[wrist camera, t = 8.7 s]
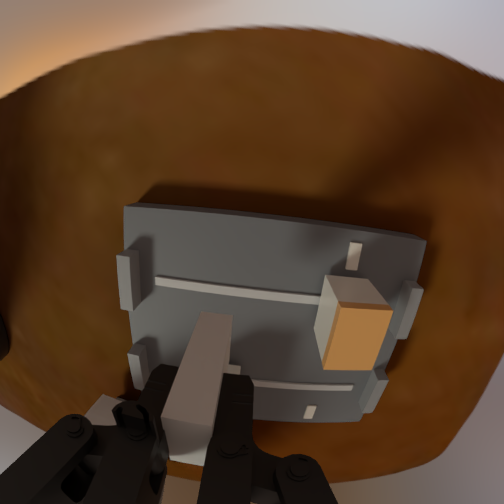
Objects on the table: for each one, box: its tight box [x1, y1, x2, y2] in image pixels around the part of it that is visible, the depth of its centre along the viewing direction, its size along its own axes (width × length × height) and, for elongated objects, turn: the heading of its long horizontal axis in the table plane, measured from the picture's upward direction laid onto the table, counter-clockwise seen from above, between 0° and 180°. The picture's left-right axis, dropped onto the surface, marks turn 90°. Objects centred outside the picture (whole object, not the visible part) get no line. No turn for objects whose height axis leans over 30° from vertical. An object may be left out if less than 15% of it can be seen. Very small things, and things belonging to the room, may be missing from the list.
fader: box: [314, 275, 393, 370], centre depth 16 cm, size 3×4×4 cm
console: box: [117, 202, 427, 422], centre depth 20 cm, size 21×18×4 cm
